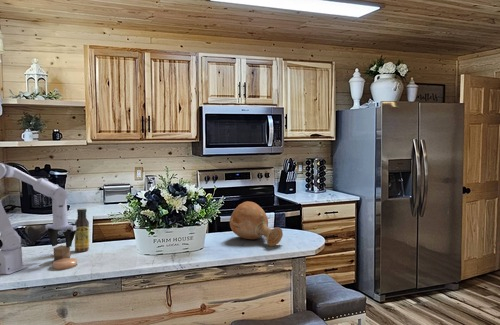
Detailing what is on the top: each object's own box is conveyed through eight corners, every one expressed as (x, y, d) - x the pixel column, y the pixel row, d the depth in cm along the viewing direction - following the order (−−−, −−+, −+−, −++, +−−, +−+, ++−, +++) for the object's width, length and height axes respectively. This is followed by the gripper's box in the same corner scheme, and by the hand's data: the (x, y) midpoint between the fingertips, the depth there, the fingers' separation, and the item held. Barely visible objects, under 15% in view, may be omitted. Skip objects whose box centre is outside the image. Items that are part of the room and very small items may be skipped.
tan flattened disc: (66, 270, 158) (65, 265, 158) (48, 268, 161) (47, 263, 160) (81, 263, 167) (81, 258, 166) (64, 261, 169) (64, 257, 169)
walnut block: (62, 262, 169) (61, 248, 168) (54, 261, 170) (53, 248, 170) (70, 259, 173) (69, 245, 172) (61, 258, 174) (61, 245, 174)
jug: (258, 209, 218) (297, 224, 196) (240, 239, 213) (278, 258, 191) (236, 191, 206) (275, 205, 184) (217, 222, 202) (255, 240, 179)
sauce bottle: (74, 253, 182) (72, 210, 181) (74, 249, 188) (73, 208, 187) (90, 251, 185) (88, 209, 183) (89, 248, 190) (88, 207, 189)
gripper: (80, 214, 172) (82, 244, 173) (53, 212, 176) (55, 242, 177) (68, 217, 165) (70, 249, 166) (40, 215, 169) (42, 247, 170)
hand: (61, 246), depth 171 cm, fingers open, 7 cm apart
